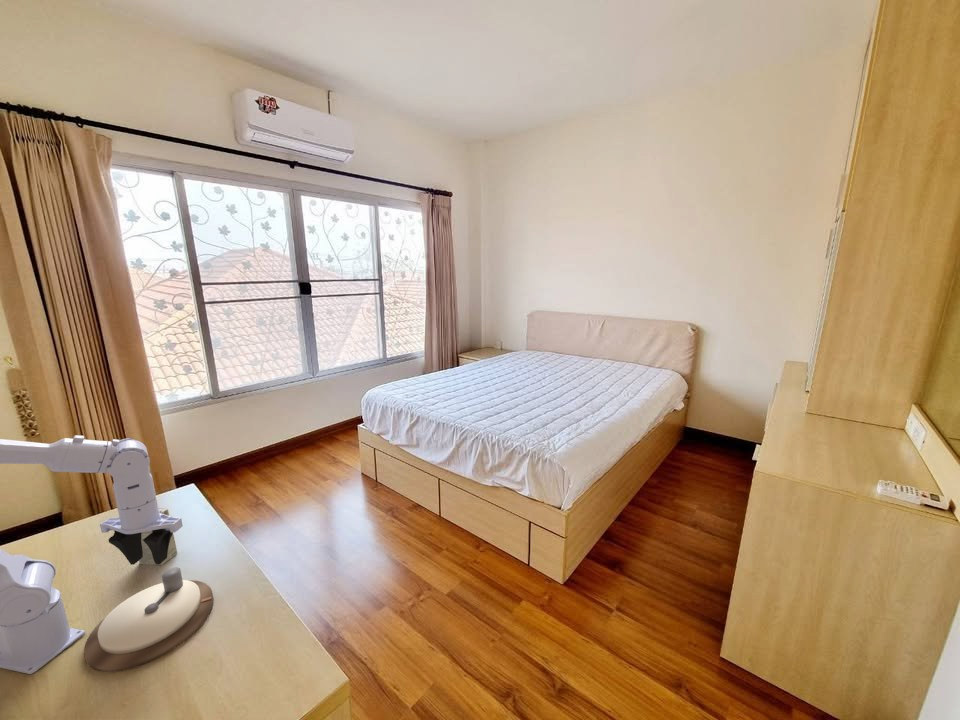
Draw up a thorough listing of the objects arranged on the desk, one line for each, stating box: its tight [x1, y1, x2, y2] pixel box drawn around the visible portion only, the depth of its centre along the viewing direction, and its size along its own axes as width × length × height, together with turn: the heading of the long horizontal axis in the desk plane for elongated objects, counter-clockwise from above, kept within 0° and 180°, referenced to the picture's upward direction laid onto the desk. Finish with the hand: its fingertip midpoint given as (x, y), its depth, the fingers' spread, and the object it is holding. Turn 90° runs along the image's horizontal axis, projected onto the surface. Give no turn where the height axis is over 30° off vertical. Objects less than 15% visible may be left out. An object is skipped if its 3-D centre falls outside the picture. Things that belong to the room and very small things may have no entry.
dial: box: [98, 566, 201, 654], centre depth 73 cm, size 15×15×5 cm
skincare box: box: [138, 507, 178, 566], centre depth 90 cm, size 6×4×12 cm
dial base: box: [83, 579, 215, 673], centre depth 74 cm, size 19×19×1 cm
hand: (149, 561), depth 78 cm, fingers open, 4 cm apart
